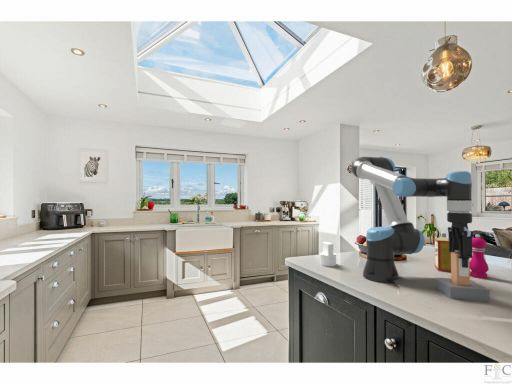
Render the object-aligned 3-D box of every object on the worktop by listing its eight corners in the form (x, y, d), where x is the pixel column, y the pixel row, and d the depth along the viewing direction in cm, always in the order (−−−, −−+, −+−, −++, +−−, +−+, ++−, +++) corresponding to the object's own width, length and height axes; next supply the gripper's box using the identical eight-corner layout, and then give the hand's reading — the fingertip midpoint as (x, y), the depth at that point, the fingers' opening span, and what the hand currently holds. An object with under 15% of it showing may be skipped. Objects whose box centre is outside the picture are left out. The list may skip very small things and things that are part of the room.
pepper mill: (492, 279, 121) (491, 235, 122) (474, 278, 123) (473, 235, 123) (482, 274, 128) (481, 233, 129) (465, 274, 130) (464, 233, 130)
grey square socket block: (450, 301, 95) (450, 287, 95) (435, 290, 107) (435, 277, 107) (489, 304, 92) (489, 289, 92) (470, 292, 104) (470, 279, 104)
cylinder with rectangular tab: (317, 262, 153) (317, 241, 154) (332, 262, 154) (332, 241, 155) (323, 266, 144) (323, 244, 145) (339, 266, 145) (338, 244, 146)
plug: (456, 289, 98) (456, 251, 98) (451, 286, 102) (450, 249, 102) (470, 290, 97) (469, 252, 97) (463, 286, 101) (463, 250, 101)
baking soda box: (454, 272, 133) (453, 240, 133) (438, 270, 136) (437, 239, 136) (449, 267, 141) (448, 238, 142) (435, 266, 144) (434, 237, 145)
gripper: (484, 213, 91) (485, 281, 90) (458, 211, 108) (459, 268, 107) (459, 213, 93) (460, 280, 92) (438, 211, 109) (438, 267, 109)
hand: (460, 274), depth 100 cm, fingers closed on plug, 4 cm apart
